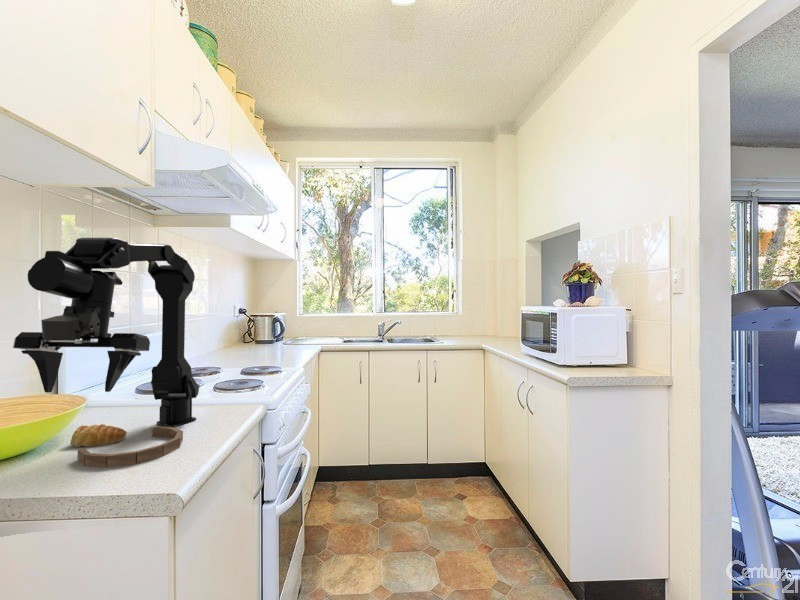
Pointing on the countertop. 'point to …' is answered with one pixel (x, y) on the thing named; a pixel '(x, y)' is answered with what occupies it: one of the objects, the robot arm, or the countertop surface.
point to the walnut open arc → (135, 456)
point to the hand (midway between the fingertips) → (78, 392)
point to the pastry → (97, 435)
